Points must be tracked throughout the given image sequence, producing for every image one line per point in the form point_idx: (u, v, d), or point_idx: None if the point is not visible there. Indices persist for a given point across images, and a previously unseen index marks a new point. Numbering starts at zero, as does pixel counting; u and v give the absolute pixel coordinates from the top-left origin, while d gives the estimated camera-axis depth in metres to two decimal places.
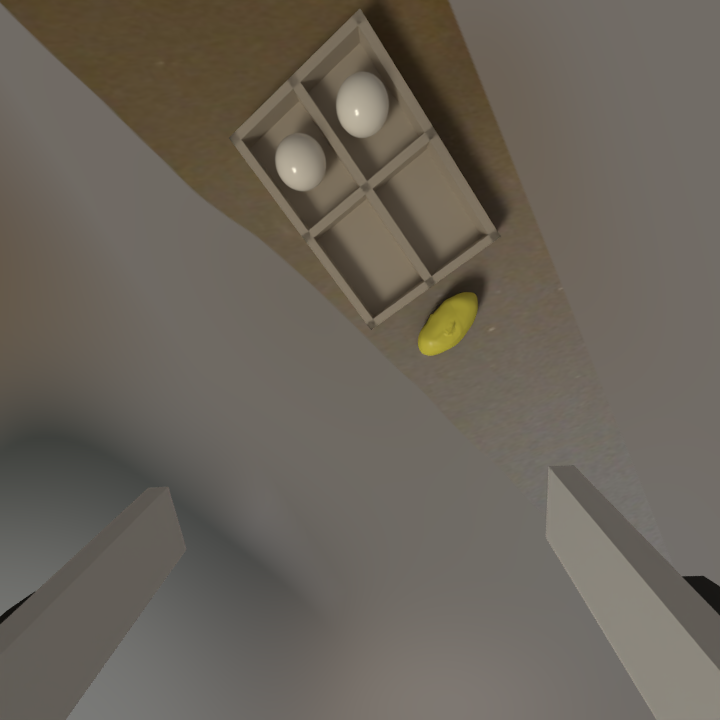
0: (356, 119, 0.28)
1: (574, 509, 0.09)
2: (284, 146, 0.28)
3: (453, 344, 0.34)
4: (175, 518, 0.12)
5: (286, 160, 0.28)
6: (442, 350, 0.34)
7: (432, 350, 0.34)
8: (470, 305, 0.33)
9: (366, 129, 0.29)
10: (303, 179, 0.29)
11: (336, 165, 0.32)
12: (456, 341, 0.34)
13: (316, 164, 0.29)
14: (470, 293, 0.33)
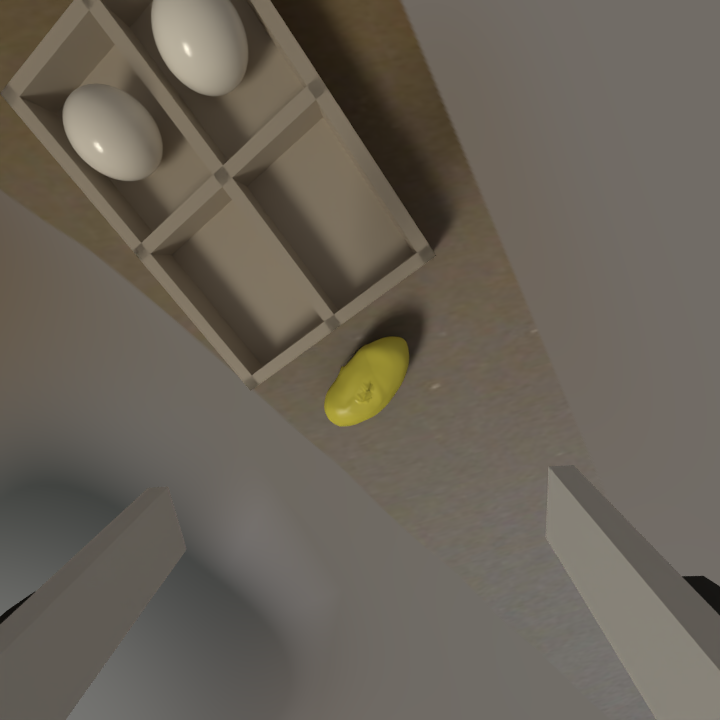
0: (181, 58, 0.16)
1: (573, 509, 0.09)
2: (67, 104, 0.17)
3: (372, 414, 0.23)
4: (175, 518, 0.12)
5: (71, 127, 0.17)
6: (357, 422, 0.23)
7: (342, 422, 0.23)
8: (393, 358, 0.21)
9: (205, 77, 0.17)
10: (110, 160, 0.18)
11: (188, 142, 0.21)
12: (376, 410, 0.23)
13: (127, 136, 0.18)
14: (396, 339, 0.22)
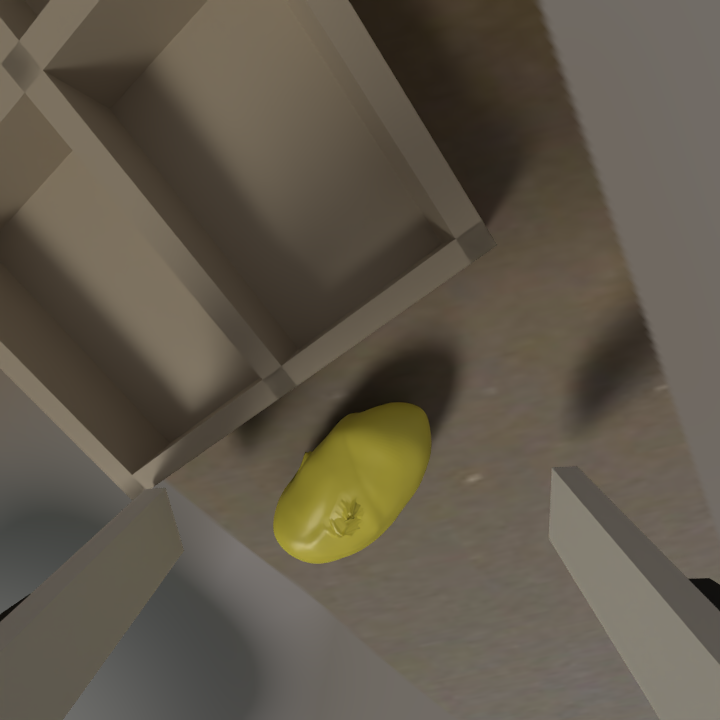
0: None
1: (577, 510, 0.09)
2: None
3: (362, 548, 0.12)
4: (172, 519, 0.12)
5: None
6: (333, 560, 0.12)
7: (305, 561, 0.12)
8: (401, 455, 0.11)
9: None
10: None
11: None
12: (369, 542, 0.12)
13: None
14: (406, 412, 0.11)
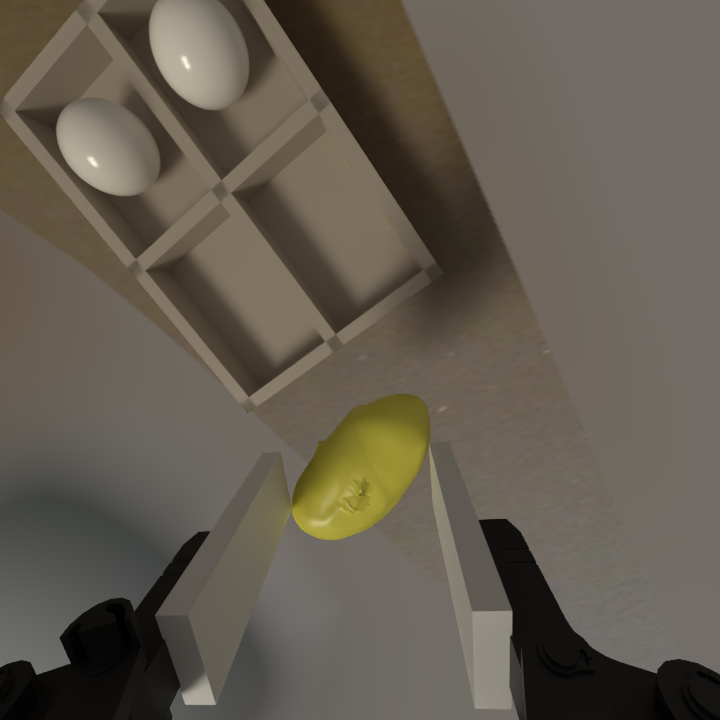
0: (179, 71, 0.16)
1: (435, 474, 0.11)
2: (60, 118, 0.16)
3: (371, 524, 0.14)
4: (285, 480, 0.13)
5: (64, 142, 0.16)
6: (345, 536, 0.14)
7: (321, 538, 0.14)
8: (405, 438, 0.12)
9: (204, 91, 0.17)
10: (104, 175, 0.17)
11: (186, 156, 0.20)
12: (378, 518, 0.13)
13: (122, 150, 0.17)
14: (408, 402, 0.13)
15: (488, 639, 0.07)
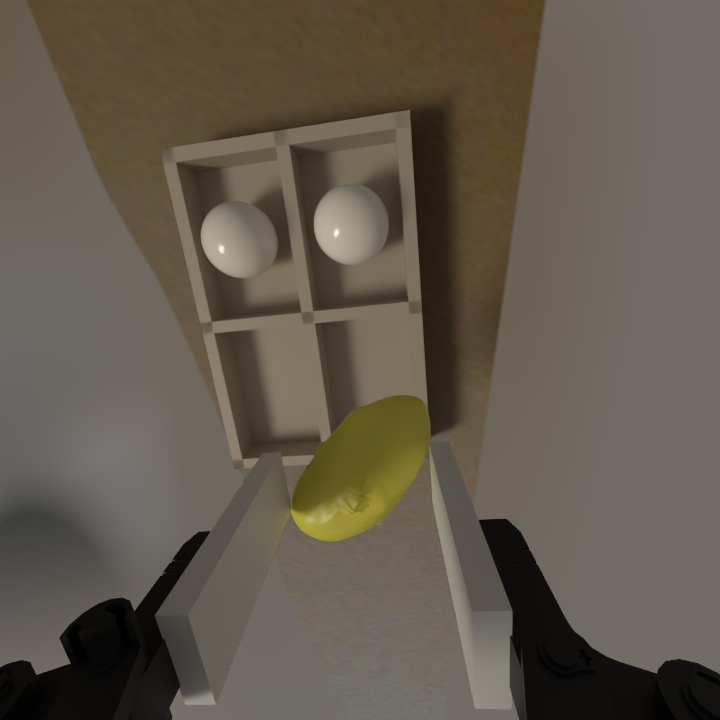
0: (329, 244, 0.19)
1: (435, 474, 0.11)
2: (218, 218, 0.19)
3: (371, 526, 0.13)
4: (285, 480, 0.13)
5: (211, 236, 0.19)
6: (345, 537, 0.14)
7: (321, 539, 0.14)
8: (404, 439, 0.12)
9: (338, 259, 0.20)
10: (226, 268, 0.20)
11: (293, 261, 0.23)
12: (378, 520, 0.13)
13: (252, 262, 0.20)
14: (408, 403, 0.13)
15: (488, 639, 0.07)
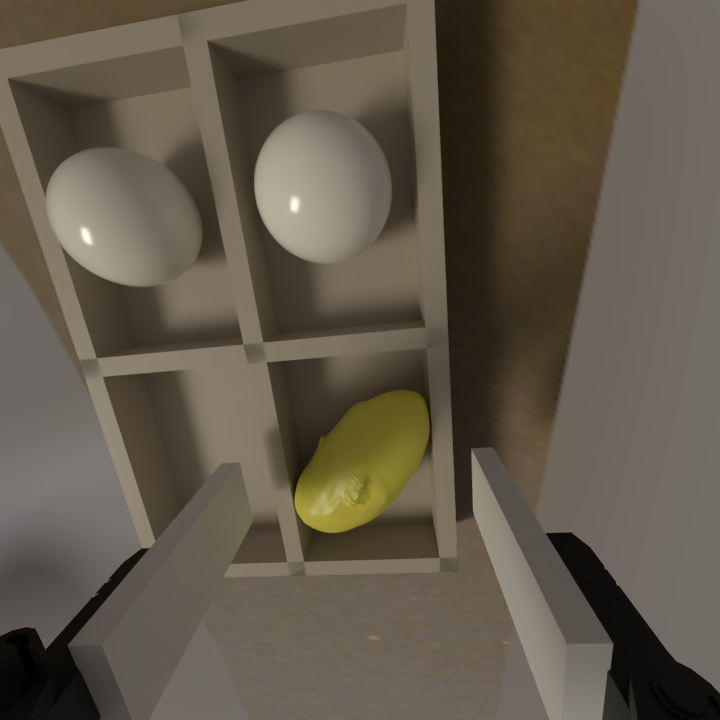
0: (280, 224, 0.10)
1: (483, 483, 0.11)
2: (65, 173, 0.10)
3: (372, 517, 0.14)
4: (245, 491, 0.13)
5: (54, 209, 0.10)
6: (347, 529, 0.14)
7: (323, 531, 0.14)
8: (404, 433, 0.12)
9: (300, 253, 0.11)
10: (97, 270, 0.11)
11: None
12: (379, 511, 0.14)
13: (142, 258, 0.11)
14: (407, 397, 0.13)
15: (582, 674, 0.06)
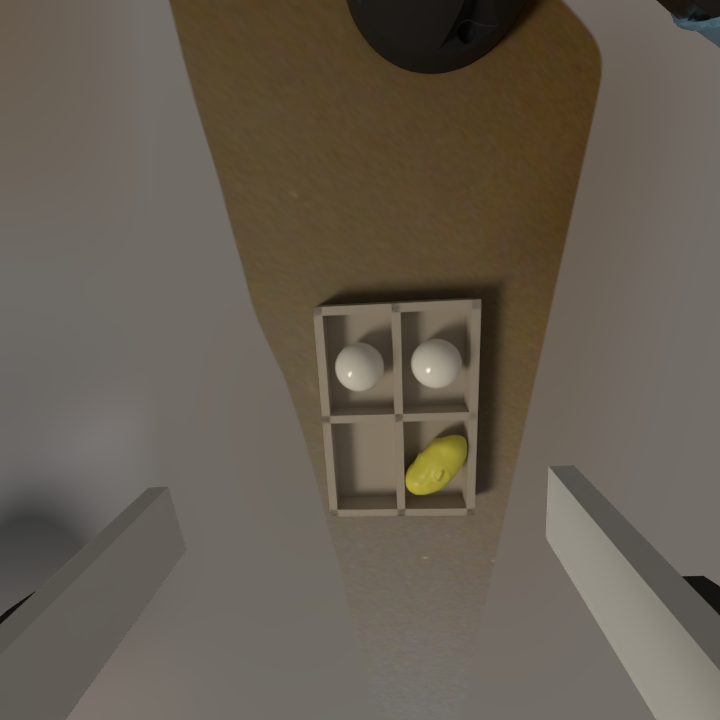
0: (425, 379, 0.29)
1: (574, 509, 0.09)
2: (354, 360, 0.29)
3: (441, 488, 0.33)
4: (175, 518, 0.12)
5: (348, 371, 0.29)
6: None
7: (420, 493, 0.33)
8: (459, 453, 0.32)
9: (427, 386, 0.30)
10: (353, 388, 0.30)
11: (387, 374, 0.33)
12: (444, 485, 0.33)
13: (371, 385, 0.30)
14: (459, 438, 0.32)
15: None
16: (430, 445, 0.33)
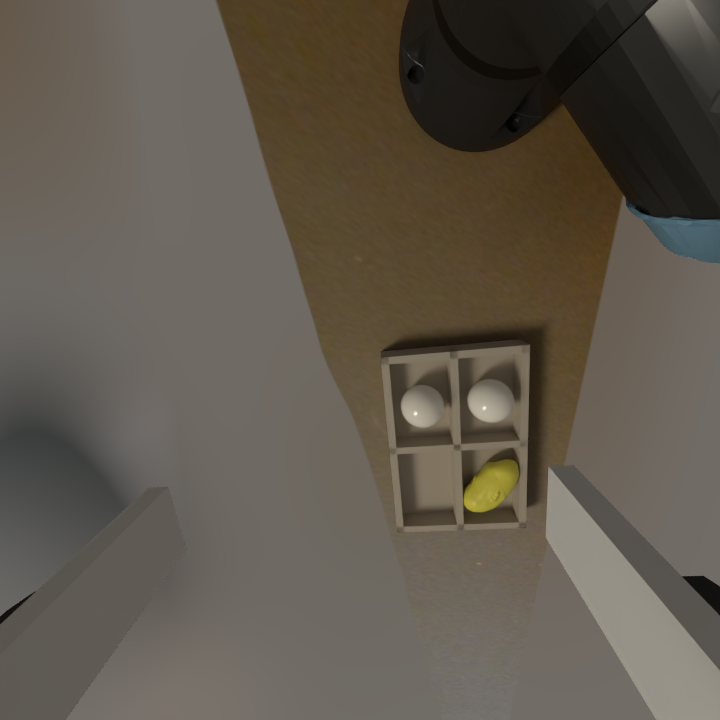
0: (482, 417, 0.34)
1: (573, 509, 0.09)
2: (421, 403, 0.33)
3: (496, 506, 0.37)
4: (175, 518, 0.12)
5: (416, 413, 0.34)
6: (486, 510, 0.38)
7: (478, 511, 0.38)
8: (512, 476, 0.36)
9: (484, 421, 0.35)
10: (419, 426, 0.35)
11: None
12: (499, 504, 0.37)
13: (434, 423, 0.34)
14: (512, 463, 0.37)
15: None
16: (485, 469, 0.38)
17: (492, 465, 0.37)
